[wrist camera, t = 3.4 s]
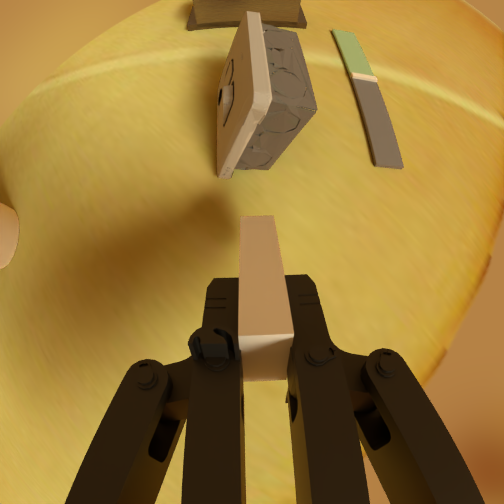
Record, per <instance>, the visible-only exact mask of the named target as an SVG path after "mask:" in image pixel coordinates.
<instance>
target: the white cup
mask: <svg viewBox="0 0 504 504" xmlns="http://www.w3.org/2000/svg"><path fill="white" fill-rule="evenodd" d="M18 237H19V219H18V216H17V214H16V212H15V210H13V209H12V208H10V207H8V206H6V205H4V204H2V203H0V269H3V268H4V267H6V266H7V265H8V264H9V263H10V261H11V259H12V257H13V256H14V253H15V250H16V247H17V244H18Z"/></svg>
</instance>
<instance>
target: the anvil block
mask: <svg viewBox="0 0 504 504" xmlns="http://www.w3.org/2000/svg"><path fill="white" fill-rule="evenodd" d="M300 2H301V0H193V5H194V6H193V7H192V10H191V14H190V17H189V21H188V24H187V27H188V31H192V30H200V29H209V28H221V27H239V25H240V22H241V20H242V18H243V15H244V13H245V12H246V11H250V12H257V13H260V18H261V23H263V24H267V25H272V26H274V27H293V28H305V29H306V26H307V22H306V19H305V16H304V14H303V11H302V8H301V6H300Z"/></svg>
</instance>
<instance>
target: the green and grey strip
mask: <svg viewBox="0 0 504 504" xmlns="http://www.w3.org/2000/svg"><path fill="white" fill-rule="evenodd" d="M332 33H333V36H334V38H335V40H336V43H337V45H338V47H339V50H340V52H341V55H342V58H343V60H344V63H345V65H346V68H347V71H348V74H349V76H350V79H351V82H352V85H353V88H354V91H355V94H356V97H357V101H358V104H359V107H360V111H361V114H362V118H363V121H364V125H365V128H366V132H367V136H368V140H369V144H370V148H371V153H372V157H373V161H374V166H375V167H385V168H395V169H402V168H403V167H404V166H403V162H402V158H401V154H400V151H399V147H398V143H397V140H396V136H395V133H394V130H393V127H392V124H391V120H390V117H389V114H388V112H387V109H386V106H385V103H384V100H383V98H382V95H381V92H380V90H379V87H378V85H377V81H378V80H377V77H376V76H374V75H373V72H372V70H371V68H370V66H369V63H368V61H367V59H366V57H365V54H364V52H363V50H362V48H361V46H360V44H359V42H358V40H357V38H356V36H355V34H354V33H352V32H347V31H341V30H335V29H333V30H332Z"/></svg>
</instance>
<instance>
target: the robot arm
mask: <svg viewBox="0 0 504 504" xmlns="http://www.w3.org/2000/svg"><path fill="white" fill-rule="evenodd" d="M204 308H205V309H204V314H203V322H202V327H201V328H199V329H197V330H196V331H195V332H194V333H193V334H192V335H191V336H190V339H189V341H188V346H189V349H190V352H191V355H192V356H190V357H189V358H187V359H186V360H183V361H180V362H176V363H172V364H168V365H164V366H163V365H162V364H161V363H160V362H158V361H156V360H150V359H145V360H141V361H138V362H137V363H135V364H133V365H132V366H131V367H130V368H129V370H128V371H127V373H126V375H125V376H124V378H123V380H122V382H121V384H120V386H119V388H118V390H117V392H116V394H115V396H114V397H113V399H112V401H111V403H110V405H109V407H108V409H107V411H106V413H105V415H104V417H103V419H102V421H101V423H100V425H99V428H98V430H97V432H96V434H95V436H94V438H93V440H92V442H91V444H90V446H89V449H88V451H87V453H86V455H85V457H84V460H83V462H82V464H81V466H80V468H79V471H78V473H77V475H76V478H75V480H74V482H73V485H72V487H71V490H70V492H69V494H68V497H67V499H66V502H65V504H155V501H156V499H157V496H158V493H159V491H160V488H161V485H162V483H163V480H164V477H165V475H166V472H167V469H168V467H169V464H170V461H171V458H172V456H173V453H174V450H175V448H176V445H177V442H178V440H179V437H180V434H181V432H182V429H183V427H184V424H185V421H186V419H187V424H186V436H185V449H184V463H183V479H182V500H181V504H246V479H245V430H244V392H243V381H271V380H286V378H287V379H288V391H287V395H286V401H285V403H288V408H289V419H290V429H291V440H292V452H293V463H294V475H295V488H296V502H297V504H370V501H369V493H368V487H367V480H366V474H365V468H364V462H363V456H362V451H361V446H360V441H361V443H362V445H363V447H364V449H365V452H366V454H367V456H368V458H369V460H370V462H371V464H372V466H373V468H374V470H375V472H376V474H377V476H378V478H379V481H380V483H381V485H382V487H383V489H384V491H385V492H386V495H387V497H388V499H389V501H390V504H485V503H484V501H483V498H482V496H481V494H480V492H479V490H478V488H477V485H476V483H475V481H474V480H473V477H472V475H471V473H470V471H469V469H468V467H467V465H466V463H465V461H464V459H463V457H462V456H461V454H460V452H459V450H458V448H457V446H456V445H455V443H454V441H453V439H452V437H451V435H450V434H449V432H448V430H447V429H446V427H445V425H444V423H443V422H442V420H441V418H440V416H439V415H438V413H437V411H436V410H435V408H434V406H433V405H432V403H431V402H430V400H429V398H428V397H427V395H426V394H425V392H424V390H423V389H422V387H421V385H420V384H419V382H418V381H417V379H416V378H415V376H414V375H413V373H412V372H411V370H410V368H409V367H408V365H407V364H406V362H405V361H404V359H403V358H402V357H401V356H400V355H399V354H398V353H397V352H395V351H393V350H391V349H385V348H382V349H377V350H375V351H373V352H372V353H370V355H369V356H363V355H357V354H351V353H347V352H344V351H342V350H341V349H339V348H338V347H337V346H335V345H334V343H333V342H332V341H331V339H330V336H329V333H328V329H327V325H326V322H325V318H324V314H323V310H322V307H321V304H320V299H319V296H318V292H317V289H316V285H315V283H314V282H313V281H312V279H311V278H310V277H309V276H308V275H307V274H304V275H284V270H283V264H282V259H281V253H280V248H279V242H278V237H277V231H276V226H275V221H274V216H240V256H239V278H214V279H213V280H212V282H211V283H210V284H209V286H208V287H207V292H206V300H205V307H204ZM359 439H360V440H359Z"/></svg>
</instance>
